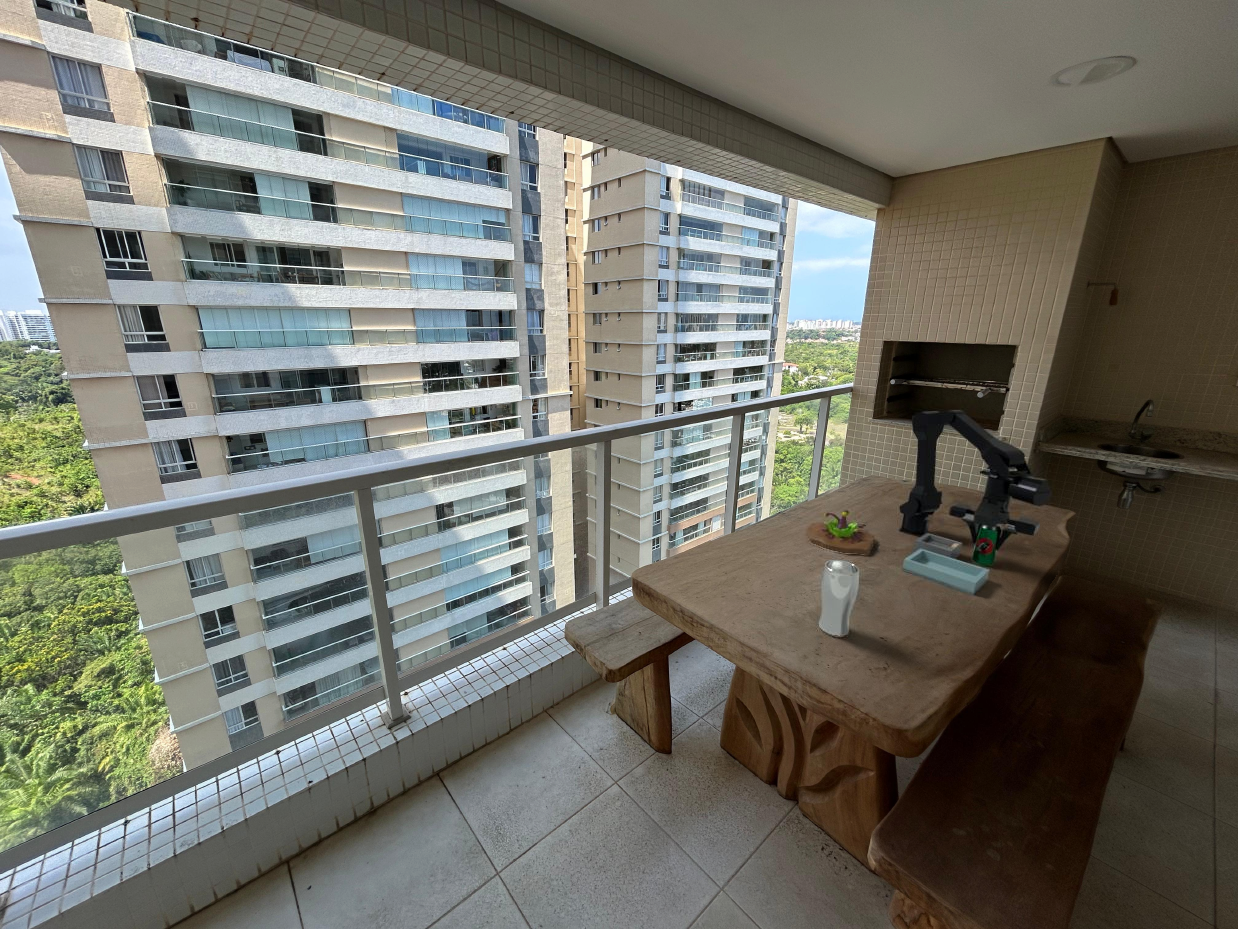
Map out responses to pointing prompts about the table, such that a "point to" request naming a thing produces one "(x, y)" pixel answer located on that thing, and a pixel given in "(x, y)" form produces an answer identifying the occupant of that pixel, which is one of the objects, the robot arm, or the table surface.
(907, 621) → the table surface
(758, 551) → the table surface
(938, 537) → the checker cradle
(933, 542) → the plate
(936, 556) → the trough
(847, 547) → the plant
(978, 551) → the soda can
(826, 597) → the beer glass
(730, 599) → the table surface
